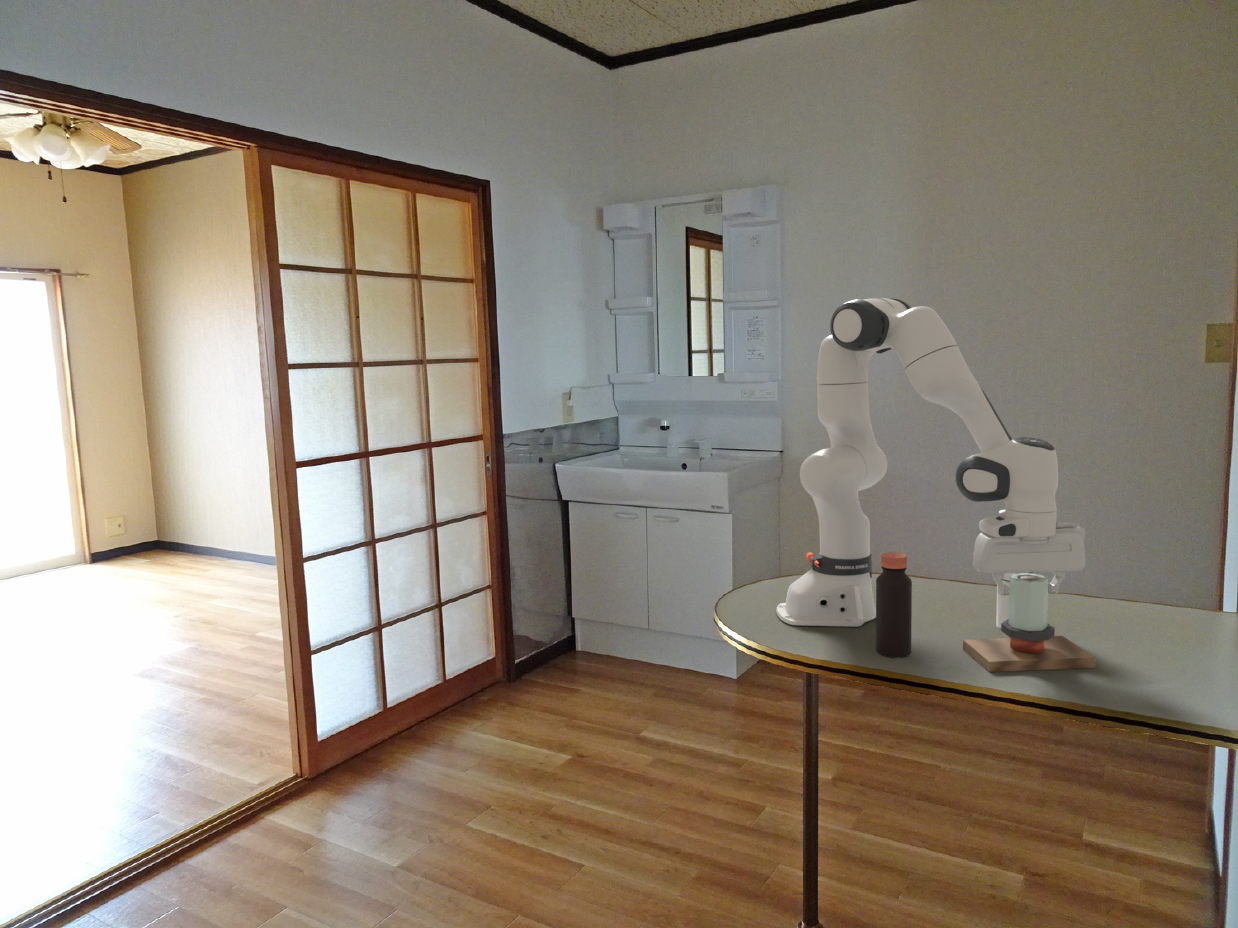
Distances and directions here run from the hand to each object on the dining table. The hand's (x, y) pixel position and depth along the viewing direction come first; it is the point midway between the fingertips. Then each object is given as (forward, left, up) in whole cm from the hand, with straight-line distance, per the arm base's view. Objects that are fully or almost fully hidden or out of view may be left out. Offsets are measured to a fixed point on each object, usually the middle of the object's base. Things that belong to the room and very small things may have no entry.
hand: (1027, 593), depth 166 cm
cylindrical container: (+6, +18, -13) cm, 23 cm away
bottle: (-24, +6, -13) cm, 28 cm away
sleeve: (0, 0, -6) cm, 6 cm away
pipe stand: (0, 0, -13) cm, 13 cm away
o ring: (0, 0, -8) cm, 8 cm away
